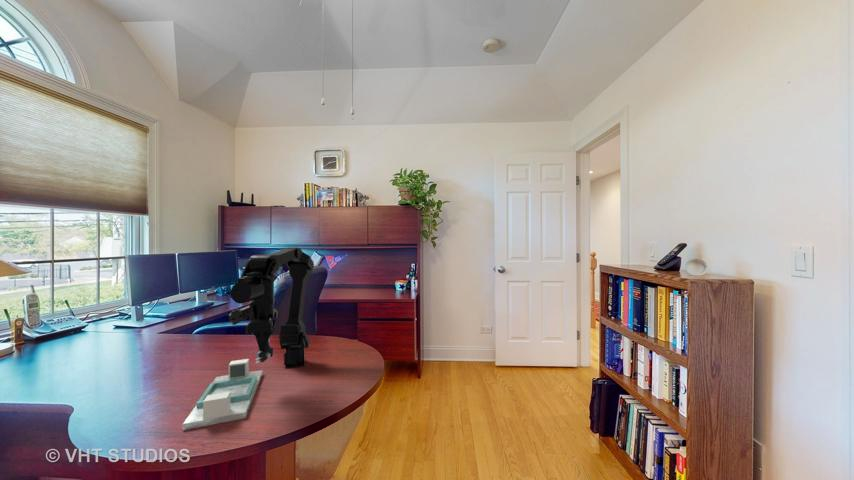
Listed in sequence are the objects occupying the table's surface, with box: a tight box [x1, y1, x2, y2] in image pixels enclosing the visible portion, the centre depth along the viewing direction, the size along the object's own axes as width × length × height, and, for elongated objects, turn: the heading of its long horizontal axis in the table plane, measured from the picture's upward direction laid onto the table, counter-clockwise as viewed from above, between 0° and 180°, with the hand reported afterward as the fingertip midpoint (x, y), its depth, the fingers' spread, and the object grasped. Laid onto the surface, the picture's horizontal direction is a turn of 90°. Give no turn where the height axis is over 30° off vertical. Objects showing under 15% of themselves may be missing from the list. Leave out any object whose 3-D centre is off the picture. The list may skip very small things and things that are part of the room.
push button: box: [254, 326, 276, 364], centre depth 87 cm, size 7×5×10 cm
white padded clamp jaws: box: [203, 358, 250, 420], centre depth 84 cm, size 5×26×4 cm, turn 21°
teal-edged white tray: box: [182, 370, 263, 431], centre depth 84 cm, size 13×26×3 cm, turn 21°
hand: (263, 348), depth 88 cm, fingers closed on push button, 4 cm apart
